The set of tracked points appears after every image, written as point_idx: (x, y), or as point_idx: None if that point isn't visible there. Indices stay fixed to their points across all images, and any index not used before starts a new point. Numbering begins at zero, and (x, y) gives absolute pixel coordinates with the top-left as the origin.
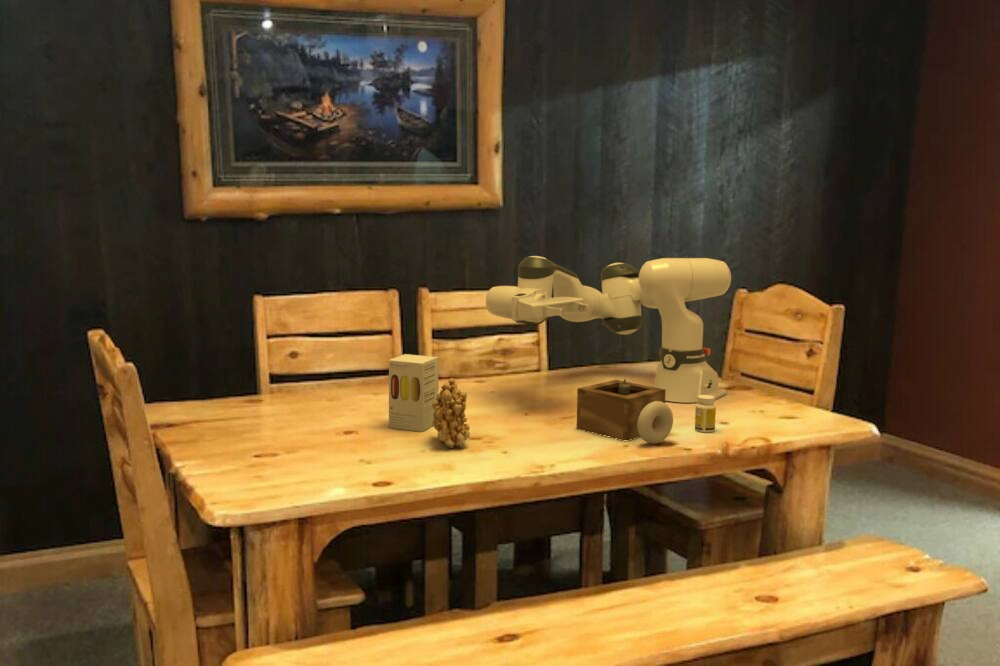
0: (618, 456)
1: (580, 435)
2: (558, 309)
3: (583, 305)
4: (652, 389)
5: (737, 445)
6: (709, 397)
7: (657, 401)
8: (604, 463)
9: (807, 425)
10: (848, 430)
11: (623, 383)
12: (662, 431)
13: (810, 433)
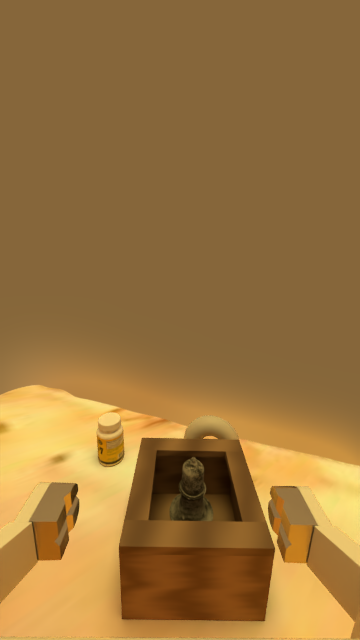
0: (284, 464)
1: (283, 570)
2: (315, 501)
3: (72, 488)
4: (156, 448)
5: (149, 418)
6: (112, 415)
7: (211, 416)
8: (314, 460)
9: (34, 409)
10: (42, 390)
11: (198, 463)
12: None
13: (68, 401)
